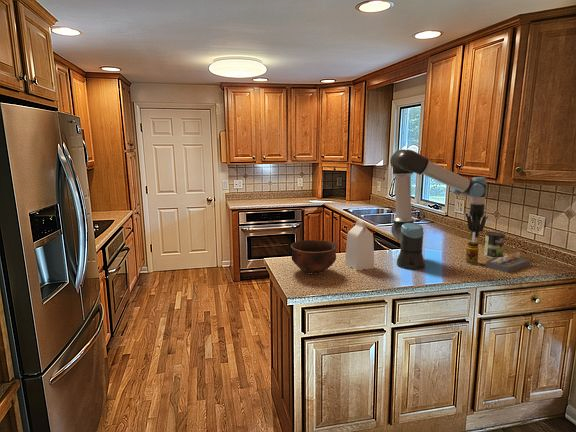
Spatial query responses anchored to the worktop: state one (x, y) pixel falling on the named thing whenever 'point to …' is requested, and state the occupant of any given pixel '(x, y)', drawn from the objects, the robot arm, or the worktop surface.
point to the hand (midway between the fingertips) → (474, 242)
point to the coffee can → (494, 244)
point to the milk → (360, 247)
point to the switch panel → (508, 264)
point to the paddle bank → (508, 258)
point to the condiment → (472, 254)
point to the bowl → (313, 255)
